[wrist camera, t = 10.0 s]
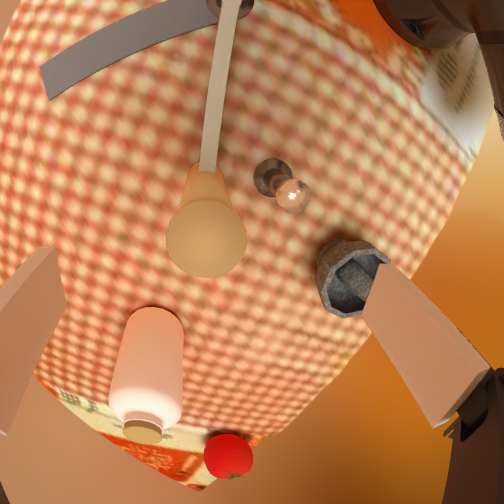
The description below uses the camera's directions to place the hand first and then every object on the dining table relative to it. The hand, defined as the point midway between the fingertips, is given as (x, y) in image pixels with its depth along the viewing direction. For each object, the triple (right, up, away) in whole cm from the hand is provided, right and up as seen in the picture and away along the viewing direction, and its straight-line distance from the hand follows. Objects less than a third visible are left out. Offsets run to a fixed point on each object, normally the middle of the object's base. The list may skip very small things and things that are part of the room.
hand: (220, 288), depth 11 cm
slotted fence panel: (-3, +17, +16) cm, 24 cm away
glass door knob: (+4, +10, +22) cm, 24 cm away
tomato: (-5, -40, +45) cm, 61 cm away
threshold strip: (-12, +25, +12) cm, 30 cm away
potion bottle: (-13, -9, +29) cm, 33 cm away
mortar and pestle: (+13, 0, +29) cm, 32 cm away
